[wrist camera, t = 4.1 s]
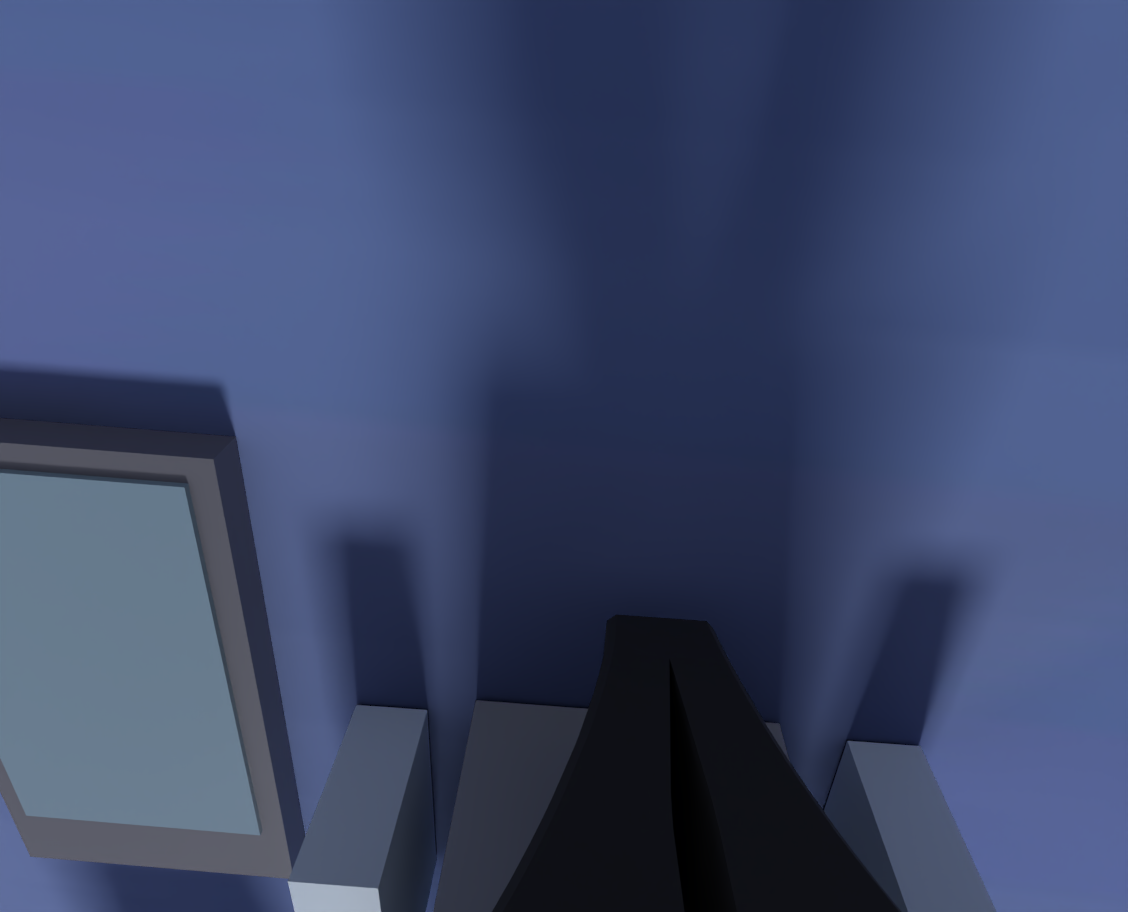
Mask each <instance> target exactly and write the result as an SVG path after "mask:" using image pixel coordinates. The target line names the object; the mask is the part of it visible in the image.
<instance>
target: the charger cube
mask: <svg viewBox="0 0 1128 912" xmlns="http://www.w3.org/2000/svg"><path fill="white" fill-rule="evenodd" d="M587 711H588V709H584V708H571V707H558V706H545V705H532V704H519V703H506V702H492V701H479V700H476V701H475V706H474V711H473V716H472V721H471V726H470V731H469V736H468V741H467V746H466V751H465V756H464V761H463V766H462V771H461V776H460V781H459V786H458V791H457V796H456V801H455V806H454V811H453V816H452V821H451V826H450V831H449V836H448V841H447V846H446V851H445V856H444V861H443V866H442V871H441V876H440V881H439V886H438V891H437V896H436V901H435V906H434V911H433V912H492V911H493V909H494V907H495V905H496V904H497V902H498V900H499V898H500V897H501V895H502V893H503V892H504V890H505V888H506V886H507V885H508V883H509V881H510V879H511V878H512V876H513V874H514V872H515V870H516V868H517V866H518V865H519V863H520V861H521V859H522V857H523V855H524V853H525V851H526V849H527V848H528V846H529V844H530V842H531V840H532V838H533V836H534V834H535V832H536V830H537V828H538V826H539V824H540V822H541V820H542V818H543V816H544V814H545V812H546V810H547V808H548V805H549V803H550V801H551V799H552V797H553V795H554V792H555V790H556V788H557V785H558V783H559V781H560V779H561V776H562V774H563V772H564V769H565V767H566V765H567V762H568V760H569V758H570V756H571V753H572V751H573V749H574V746H575V744H576V741H577V739H578V736H579V733H580V731H581V728H582V725H583V722H584V719H585V716H586V713H587ZM765 724H766V725H767V727H768V728H769V730H770V731H771V733H772V735H773V736H774V738H775V739H776V741H777V742H778V744H779V746H780V747H781V749H782V750H783V752H784V753H785V755H786V757H787V758H788V760H789V757H788V754H787V750H786V746H785V742H784V739H783V735H782V731H781V727H780V723H767V722H765Z"/></svg>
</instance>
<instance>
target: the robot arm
mask: <svg viewBox="0 0 1128 912" xmlns="http://www.w3.org/2000/svg"><path fill="white" fill-rule="evenodd" d="M492 912H901V910H900V909H899V908H898V907H897V906H896V904H895V903H894V902H893V901H892V899H891V898H890V897H889V896H888V894H887V893H886V892H885V891H884V890H883V888H882V887H881V886H880V885H879V883H878V882H877V881H876V880H875V878H874V877H873V876H872V875H871V873H870V872H869V871H868V870H867V868H866V867H865V866H864V865H863V863H862V862H861V861H860V859H859V858H858V857H857V855H856V854H855V853H854V852H853V850H852V849H851V848H850V846H849V845H848V844H847V842H846V841H845V840H844V838H843V837H842V836H841V834H840V833H839V832H838V830H837V829H836V828H835V826H834V825H833V823H832V822H831V821H830V819H829V818H828V816H827V815H826V814H825V812H824V811H823V809H822V808H821V807H820V805H819V804H818V802H817V801H816V799H815V798H814V797H813V795H812V794H811V792H810V791H809V790H808V788H807V787H806V785H805V784H804V782H803V781H802V779H801V778H800V776H799V775H798V773H797V772H796V770H795V769H794V767H793V766H792V764H791V763H790V761H789V760H788V758H787V757H786V755H785V753H784V752H783V750H782V749H781V747H780V746H779V744H778V742H777V741H776V739H775V738H774V736H773V735H772V733H771V731H770V730H769V728H768V727H767V725H766V724H765V722H764V720H763V719H762V717H761V715H760V714H759V712H758V710H757V709H756V707H755V705H754V704H753V702H752V700H751V699H750V697H749V695H748V693H747V692H746V690H745V688H744V686H743V685H742V683H741V681H740V679H739V678H738V676H737V674H736V672H735V670H734V669H733V667H732V665H731V663H730V661H729V659H728V657H727V655H726V654H725V652H724V650H723V648H722V646H721V644H720V642H719V640H718V638H717V636H716V634H715V632H714V630H713V628H712V627H711V626H710V625H709V624H708V622H707V621H698V620H684V619H670V618H656V617H642V616H628V615H615V616H613V617H612V618H610V619H609V620H607V626H606V636H605V646H604V655H603V661H602V665H601V669H600V672H599V676H598V680H597V683H596V687H595V690H594V694H593V696H592V699H591V702H590V705H589V708H588V711H587V713H586V716H585V719H584V722H583V725H582V728H581V731H580V733H579V736H578V739H577V741H576V744H575V746H574V749H573V751H572V753H571V756H570V758H569V760H568V762H567V765H566V767H565V769H564V772H563V774H562V776H561V779H560V781H559V783H558V785H557V788H556V790H555V792H554V795H553V797H552V799H551V801H550V803H549V805H548V808H547V810H546V812H545V814H544V816H543V818H542V820H541V822H540V824H539V826H538V828H537V830H536V832H535V834H534V836H533V838H532V840H531V842H530V844H529V846H528V848H527V849H526V851H525V853H524V855H523V857H522V859H521V861H520V863H519V865H518V866H517V868H516V870H515V872H514V874H513V876H512V878H511V879H510V881H509V883H508V885H507V886H506V888H505V890H504V892H503V893H502V895H501V897H500V898H499V900H498V902H497V904H496V905H495V907H494V909H493V911H492Z"/></svg>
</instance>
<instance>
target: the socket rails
mask: <svg viewBox="0 0 1128 912" xmlns="http://www.w3.org/2000/svg"><path fill="white" fill-rule="evenodd" d="M824 812H825V814H826V815H827V816H828V818H829V819H830V821H831V822H832V823H833V825H834V826H835V828H836V829H837V830H838V832H839V833H840V834H841V836H842V837H843V838H844V840H845V841H846V842H847V844H848V845H849V846H850V848H851V849H852V850H853V852H854V853H855V854H856V855H857V857H858V858H859V859H860V861H861V862H862V863H863V865H864V866H865V867H866V868H867V870H868V871H869V872H870V873H871V875H872V876H873V877H874V878H875V880H876V881H877V882H878V883H879V885H880V886H881V887H882V888H883V890H884V891H885V892H886V893H887V894H888V896H889V897H890V898H891V899H892V901H893V902H894V903H895V904H896V906H897V907H898V908H899V909H900V910H901V912H996V910H995V907H994V905H993V903H992V901H991V899H990V897H989V894H988V892H987V890H986V888H985V886H984V883H983V881H982V879H981V877H980V875H979V873H978V870H977V868H976V866H975V864H974V862H973V860H972V857H971V855H970V853H969V851H968V849H967V846H966V844H965V842H964V840H963V838H962V836H961V833H960V831H959V829H958V827H957V825H956V822H955V820H954V818H953V816H952V814H951V812H950V809H949V807H948V805H947V803H946V801H945V799H944V796H943V794H942V792H941V790H940V788H939V785H938V783H937V781H936V779H935V777H934V775H933V772H932V770H931V768H930V766H929V764H928V761H927V759H926V757H925V755H924V753H923V751H922V748H921V746H912V745H899V744H885V743H871V742H858V741H847V743H846V746H845V749H844V752H843V755H842V758H841V761H840V764H839V767H838V770H837V773H836V776H835V779H834V782H833V785H832V788H831V791H830V794H829V797H828V800H827V803H826V805H825V808H824ZM436 860H437V859H436V843H435V827H434V811H433V794H432V778H431V762H430V746H429V730H428V713H427V710H420V709H406V708H393V707H379V706H365V705H356V707H355V710H354V712H353V715H352V717H351V720H350V723H349V725H348V728H347V730H346V733H345V735H344V738H343V741H342V743H341V746H340V748H339V751H338V753H337V756H336V759H335V761H334V764H333V766H332V769H331V772H330V774H329V777H328V779H327V782H326V784H325V787H324V790H323V792H322V795H321V797H320V800H319V802H318V805H317V808H316V810H315V813H314V815H313V818H312V821H311V823H310V826H309V828H308V831H307V833H306V836H305V839H304V841H303V844H302V846H301V849H300V851H299V854H298V857H297V859H296V862H295V864H294V867H293V870H292V872H291V875H290V877H289V880H288V884H289V889H290V893H291V898H292V902H293V906H294V911H295V912H425V911H426V907H427V902H428V897H429V893H430V888H431V883H432V878H433V874H434V869H435V864H436Z"/></svg>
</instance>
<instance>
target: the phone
mask: <svg viewBox="0 0 1128 912" xmlns="http://www.w3.org/2000/svg"><path fill="white" fill-rule="evenodd" d="M0 792H1V794H2V797H3V799H4V801H5V803H6V805H7V807H8V809H9V812H10V814H11V816H12V818H13V820H14V822H15V824H16V827H17V829H18V831H19V833H20V835H21V837H22V839H23V842H24V844H25V846H26V848H27V850H28V852H29V854H30V857H41V858H53V859H64V860H76V861H88V862H99V863H111V864H123V865H134V866H146V867H158V868H169V869H181V870H193V871H204V872H216V873H228V874H239V875H251V876H263V877H274V878H286V879H289V877H290V875H291V872H292V870H293V867H294V864H295V862H296V859H297V857H298V854H299V851H300V849H301V846H302V844H303V841H304V839H305V832H304V826H303V821H302V815H301V809H300V803H299V798H298V792H297V786H296V780H295V775H294V769H293V763H292V757H291V752H290V746H289V740H288V734H287V729H286V723H285V717H284V711H283V706H282V700H281V694H280V688H279V682H278V677H277V671H276V665H275V659H274V654H273V648H272V642H271V636H270V631H269V625H268V619H267V613H266V608H265V602H264V596H263V590H262V585H261V579H260V573H259V567H258V562H257V556H256V550H255V544H254V538H253V533H252V527H251V521H250V515H249V510H248V504H247V498H246V492H245V487H244V481H243V475H242V469H241V464H240V458H239V452H238V446H237V441H236V437H235V436H222V435H210V434H197V433H184V432H172V431H159V430H146V429H134V428H121V427H108V426H96V425H83V424H70V423H58V422H45V421H32V420H20V419H7V418H0Z"/></svg>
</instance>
